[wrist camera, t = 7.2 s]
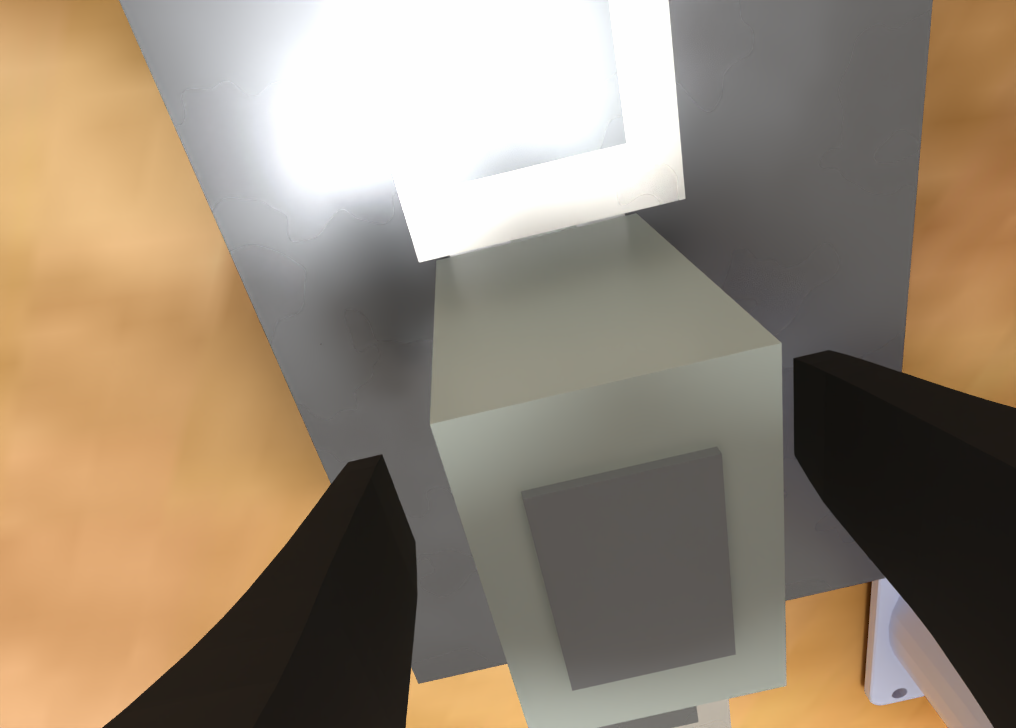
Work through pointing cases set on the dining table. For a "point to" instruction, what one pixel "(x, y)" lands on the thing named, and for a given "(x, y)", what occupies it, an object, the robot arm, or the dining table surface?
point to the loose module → (614, 471)
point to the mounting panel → (740, 224)
